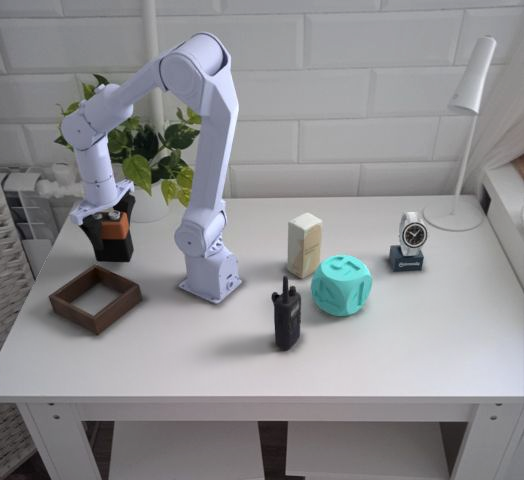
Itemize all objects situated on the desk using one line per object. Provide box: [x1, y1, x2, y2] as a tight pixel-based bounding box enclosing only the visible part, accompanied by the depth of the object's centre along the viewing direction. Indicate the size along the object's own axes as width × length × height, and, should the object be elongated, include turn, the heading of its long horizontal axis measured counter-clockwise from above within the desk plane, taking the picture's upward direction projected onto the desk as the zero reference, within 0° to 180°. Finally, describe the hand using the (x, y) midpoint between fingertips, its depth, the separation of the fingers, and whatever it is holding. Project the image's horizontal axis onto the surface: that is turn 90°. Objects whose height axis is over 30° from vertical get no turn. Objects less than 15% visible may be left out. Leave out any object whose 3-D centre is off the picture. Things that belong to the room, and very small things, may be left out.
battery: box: [92, 209, 135, 263], centre depth 120 cm, size 4×7×10 cm, turn 86°
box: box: [286, 211, 323, 279], centre depth 118 cm, size 5×4×11 cm
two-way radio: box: [270, 275, 302, 351], centre depth 102 cm, size 6×4×15 cm
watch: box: [388, 211, 430, 273], centre depth 118 cm, size 6×8×11 cm
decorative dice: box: [310, 254, 373, 317], centre depth 111 cm, size 8×8×8 cm
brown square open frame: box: [47, 263, 144, 336], centre depth 114 cm, size 12×12×4 cm
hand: (111, 238), depth 121 cm, fingers closed on battery, 6 cm apart
